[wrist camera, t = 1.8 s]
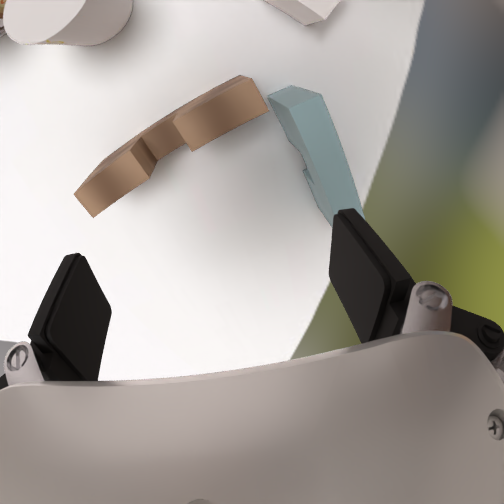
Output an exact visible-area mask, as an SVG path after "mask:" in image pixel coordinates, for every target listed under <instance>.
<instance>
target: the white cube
mask: <svg viewBox="0 0 504 504" xmlns="http://www.w3.org/2000/svg"><path fill="white" fill-rule="evenodd" d="M264 1H266V2H268V3H269V4H271V5H273V6H274V7H276V8H278V9H280V10H281V11H283V12H285V13H286V14H288V15H289V16H291V17H293V18H294V19H296V20H297V21H299V22H300V23H302V24H303V25H305V26H306V25H309V24H312V23H315V22H319V21H322V20H325V19H326V18H327V17H328V15H329V14H330V13H331V12H332V11H333V9H334V8H335V7H336V6H337V4H338V3H339V2H340V1H341V0H264Z"/></svg>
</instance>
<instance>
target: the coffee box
mask: <svg viewBox="0 0 504 504" xmlns="http://www.w3.org/2000/svg"><path fill="white" fill-rule="evenodd" d="M6 1H7V0H0V37H2V36H3V35H4V34H5V33H6V31H5V28H4V24H3V12H4V7H5V4H6Z"/></svg>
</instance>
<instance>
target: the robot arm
mask: <svg viewBox="0 0 504 504" xmlns="http://www.w3.org/2000/svg"><path fill="white" fill-rule="evenodd" d="M329 277H330V280H331V282H332V284H333V286H334V288H335V290H336V292H337V294H338V296H339V298H340V300H341V302H342V304H343V306H344V308H345V310H346V312H347V314H348V316H349V318H350V320H351V322H352V324H353V326H354V329H355V330H356V333H357V335H358V337H359V339H360V341H361V343H362V344H359V345H355V346H351V347H347V348H343V349H338V350H334V351H330V352H326V353H322V354H317V355H312V356H308V357H303V358H298V359H294V360H289V361H283V362H278V363H273V364H267V365H261V366H256V367H249V368H243V369H237V370H230V371H223V372H215V373H207V374H199V375H190V376H180V377H169V378H156V379H141V380H120V381H98V375H99V370H100V364H101V359H102V354H103V349H104V345H105V340H106V335H107V331H108V327H109V322H110V318H111V313H112V312H111V307H110V304H109V303H108V301H107V299H106V297H105V295H104V293H103V291H102V290H101V288H100V286H99V284H98V282H97V280H96V278H95V276H94V274H93V272H92V270H91V268H90V266H89V264H88V262H87V260H86V258H85V257H84V256H82V255H81V254H80V253H75V254H70V255H66V256H65V257H64V259H63V261H62V262H61V264H60V266H59V268H58V270H57V272H56V274H55V276H54V278H53V280H52V282H51V284H50V286H49V288H48V290H47V292H46V294H45V296H44V298H43V300H42V303H41V305H40V307H39V309H38V312H37V314H36V316H35V318H34V321H33V323H32V326H31V328H30V331H29V333H28V337H29V338H30V339H31V340H32V341H31V343H30V344H29V343H27V342H23V341H22V342H19V343H17V344H15V345H14V346H13V347H12V348H10V350H9V351H8V353H7V354H6V357H5V359H4V370H5V374H4V375H3V376H1V377H0V504H504V332H503V330H502V329H501V327H500V326H499V325H497V324H496V323H495V322H493V321H491V320H489V319H487V318H484V317H482V316H479V315H476V314H474V313H471V312H468V311H466V310H463V309H460V308H458V307H455V306H452V298H451V296H450V294H449V292H448V291H447V290H446V289H445V288H444V287H443V286H441V285H440V284H437V283H435V282H430V281H422V282H419V283H417V284H416V283H415V282H414V280H413V279H412V277H411V276H410V275H409V273H408V272H407V271H406V269H405V268H404V267H403V266H402V264H401V263H400V262H399V260H398V259H397V258H396V257H395V255H394V254H393V253H392V252H391V251H390V250H389V248H388V247H387V246H386V245H385V243H384V242H383V241H382V240H381V238H380V237H379V236H378V235H377V234H376V233H375V231H374V230H373V229H372V228H371V227H370V226H369V224H368V223H367V222H366V221H365V220H364V218H363V217H362V216H361V215H360V214H359V213H358V212H357V211H356V209H354V208H349V209H341V210H339V211H338V213H337V214H335V215H334V216H333V228H332V242H331V254H330V265H329Z"/></svg>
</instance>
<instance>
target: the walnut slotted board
mask: <svg viewBox="0 0 504 504" xmlns="http://www.w3.org/2000/svg"><path fill="white" fill-rule="evenodd" d="M268 111H269V110H268V108H267V106H266V104H265V102H264V100H263V98H262V96H261V94H260V93H259V91H258V89H257V87H256V85H255V83H254V81H253V80H252V78H248V77H244V76H241V75H239V76H237V77H235V78H233V79H231V80H229V81H227V82H225V83H223V84H221V85H219V86H217V87H215V88H213V89H212V90H210V91H208V92H206V93H204V94H202V95H201V96H199V97H197V98H195V99H194V100H192V101H190V102H188V103H187V104H185V105H183V106H182V107H180V108H178V109H177V110H175V111H173V112H172V113H170V114H168V115H167V116H165V117H164V118H162V119H161V120H159V121H157V122H156V123H154V124H153V125H151V126H150V127H148V128H147V129H145V130H144V131H142V132H141V133H140V134H138V135H137V136H135V137H134V138H132V139H131V140H130V141H128V142H127V143H125V144H124V145H123V146H121V147H120V148H119V149H117V150H116V151H115V152H113V153H112V154H111V155H109V156H108V157H107V158H105V159H104V160H103V161H102V162H101V163H100V164H99V165H98V166H97V167H96V168H95V170H94V171H93V172H92V173H91V174H90V175H89V176H88V178H87V179H86V180H85V181H84V182H83V183H82V185H81V186H80V187H79V188H78V189H77V191H76V192H75V193H74V195H75V197H76V198H77V199H78V200H79V202H80V203H81V204H82V205H83V207H84V208H85V209H86V210H87V211H88V213H89V214H90V215H91V216H92V217H93V218H94V217H95V216H96V215H98V214H99V213H100V212H102V211H103V210H104V209H106V208H107V207H109V206H110V205H111V204H113V203H114V202H116V201H117V200H118V199H120V198H121V197H123V196H124V195H125V194H127V193H128V192H130V191H131V190H133V189H134V188H136V187H137V186H139V185H140V184H142V183H143V182H145V181H146V180H148V179H149V178H150V176H151V174H152V172H153V170H154V167H155V165H156V163H157V161H158V160H159V159H161V158H162V157H164V156H166V155H167V154H169V153H170V152H172V151H174V150H175V149H177V148H178V147H180V146H182V145H183V144H185V143H187V145H188V146H189V148H190V150H191V151H192V152H193V151H194V150H196V149H198V148H200V147H201V146H203V145H205V144H207V143H208V142H210V141H212V140H214V139H216V138H217V137H219V136H221V135H223V134H225V133H227V132H228V131H230V130H232V129H234V128H236V127H238V126H240V125H242V124H244V123H246V122H248V121H250V120H252V119H254V118H256V117H258V116H260V115H262V114H264V113H266V112H268Z"/></svg>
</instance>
